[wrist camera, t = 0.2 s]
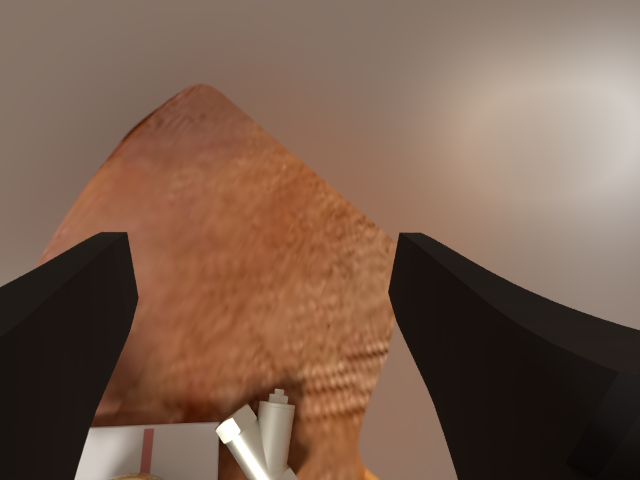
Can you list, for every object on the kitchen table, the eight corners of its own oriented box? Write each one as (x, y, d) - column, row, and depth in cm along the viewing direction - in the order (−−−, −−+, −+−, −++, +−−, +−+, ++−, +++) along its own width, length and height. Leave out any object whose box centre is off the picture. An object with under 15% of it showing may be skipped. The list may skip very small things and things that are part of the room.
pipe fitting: (275, 380, 40) (215, 427, 38) (279, 378, 37) (214, 429, 34) (323, 451, 39) (265, 504, 36) (332, 456, 35) (268, 515, 33)
